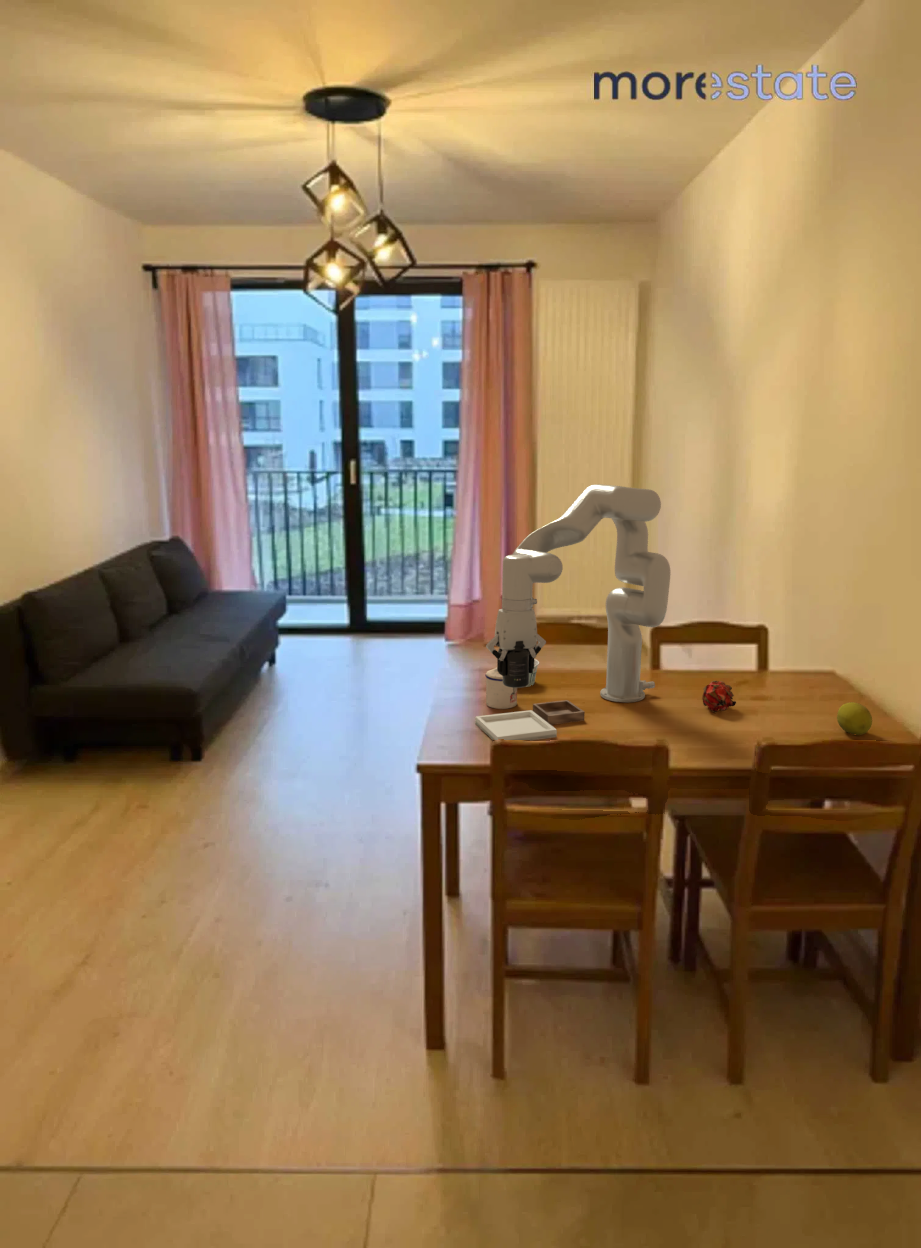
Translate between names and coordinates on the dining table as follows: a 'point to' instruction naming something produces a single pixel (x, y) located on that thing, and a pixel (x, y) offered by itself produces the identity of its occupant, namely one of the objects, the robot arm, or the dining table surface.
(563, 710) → the holder
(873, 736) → the dining table surface
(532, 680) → the food container
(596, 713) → the dining table surface
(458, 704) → the dining table surface
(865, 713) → the lemon
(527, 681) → the supplement bottle
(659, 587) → the robot arm
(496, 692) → the teacup with lid
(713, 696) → the dragon fruit
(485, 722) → the tray
